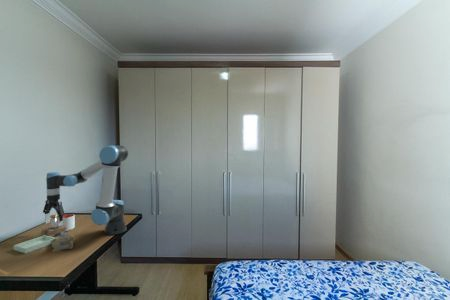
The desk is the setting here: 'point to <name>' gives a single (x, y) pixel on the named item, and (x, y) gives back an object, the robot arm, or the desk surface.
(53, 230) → the block
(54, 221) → the lock pin
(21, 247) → the tray
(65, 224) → the cup
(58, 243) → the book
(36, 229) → the desk surface
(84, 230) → the desk surface
